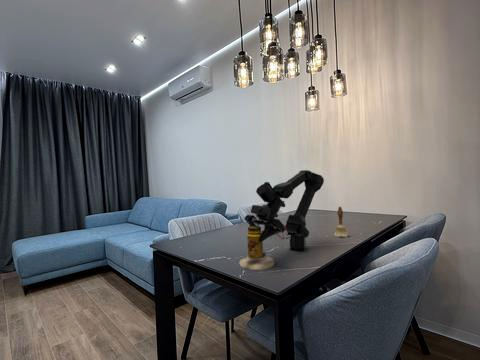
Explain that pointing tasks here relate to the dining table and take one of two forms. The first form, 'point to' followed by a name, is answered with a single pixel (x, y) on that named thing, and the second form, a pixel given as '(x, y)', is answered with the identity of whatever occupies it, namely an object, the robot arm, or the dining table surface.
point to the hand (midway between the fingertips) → (253, 240)
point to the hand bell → (340, 225)
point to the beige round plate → (256, 263)
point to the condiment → (255, 243)
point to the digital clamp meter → (283, 234)
